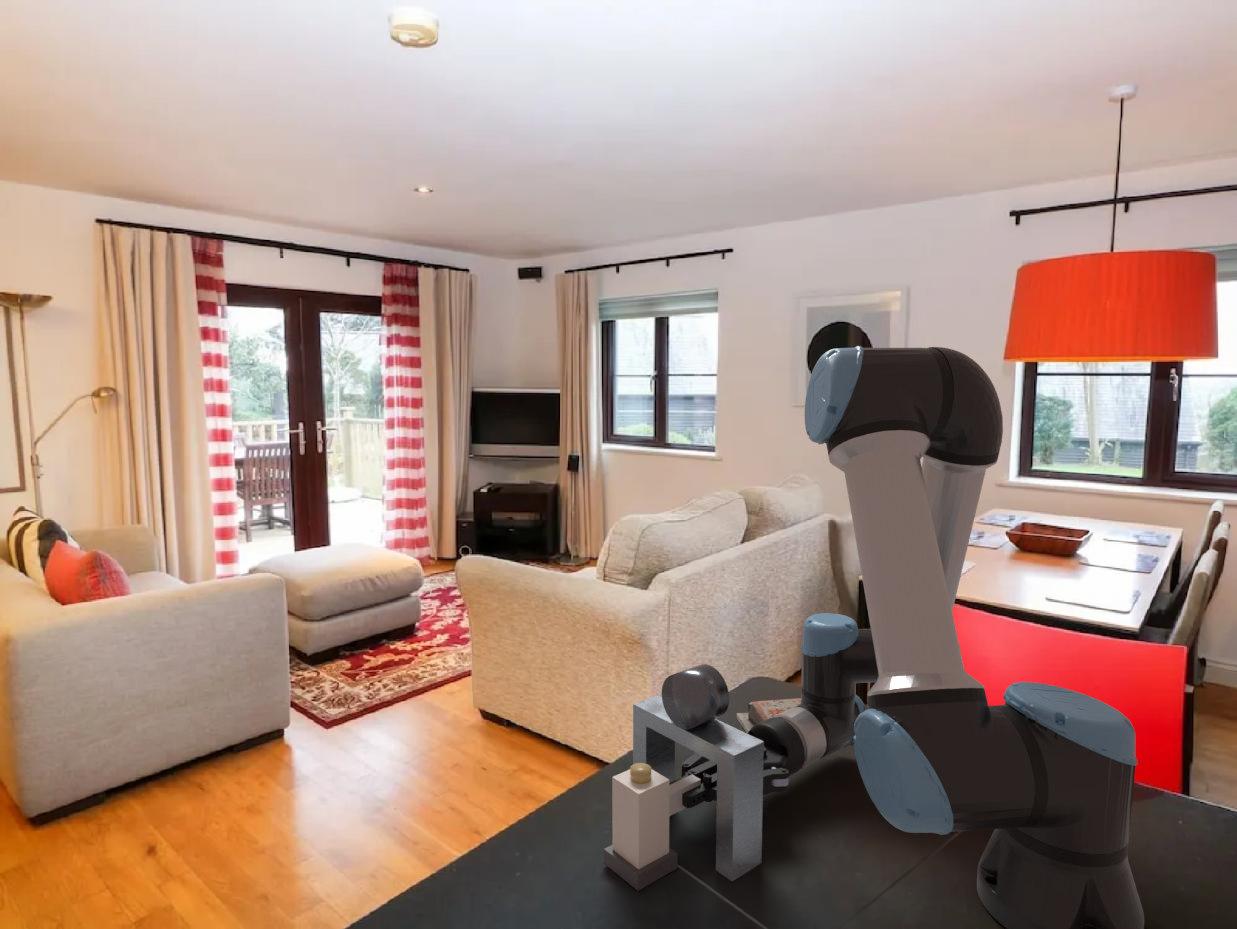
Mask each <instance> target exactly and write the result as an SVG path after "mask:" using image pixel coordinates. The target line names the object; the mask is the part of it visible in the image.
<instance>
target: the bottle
mask: <svg viewBox="0 0 1237 929" xmlns="http://www.w3.org/2000/svg"><path fill="white" fill-rule="evenodd" d="M611 777H612V780H611V784H612V788H611V789H612V791H611V793H612V794H611V795H612V796H611V798H612V804H611V805H612V808H611V810H612V811H611V812H612V816H611V817H612V826H611V827H612V844H611V845H609V846H607V847H605V848H603V864H604V865H605V866H607V868H609V869H610V870H611V871H613V872H614V873H615V874H616V875H618V876H619V877H620V878H621V879H622V880H624V881H625V882H627V883H628V884H629V885H630V886H631V887H633V889H635V890H636V891H640V890H643V889H644V888H645V887H648V886H649V885H651V884H653V883H654V882H656V881H658V880H659V879H660V878H663V877H665V876H666V875H668V874H669V873H671V872H673V871H675V870H677V869H678V860H679V858H678V857H679V856H678V855H679V854H678V853H679V852H677V851H676V850H674V849H672V848H671V847H670V816H669V779H667V778H666V777H664V776H662V775H661V774H659V773H657V772H656V771H654V770H652V769H651V766H650V765H648V764H645V763H636V764H632V765H631V766H630V767H629V768H628V769H627V770H625V771H623V772H621V773H619V774H615V775H613V776H611Z"/></svg>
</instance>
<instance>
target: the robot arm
mask: <svg viewBox="0 0 1237 929" xmlns="http://www.w3.org/2000/svg"><path fill="white" fill-rule="evenodd" d="M1003 420H1004V419H1003V411H1002V408H1001V402H1000V398H999V395H998V392H997V390H996V388H995V385H994V383H993V382H992V379H990V376H989V375H988V374H987V373H986V371H985V370H984V369H983V368H982V366H980V364H979V363H977V362H976V361H975V360H974V359H973V358H971V357H970V356H968V355H966V354H965V353H962V352H961V351H959V350H955V349H952V348H948V347H941V346H928V347H863V346H861V345H856V346H855V347H840V348H837V347H835V348H832V349H829V350H827V351H825V353H823V354H822V355H820V357H819V359H818V360H817V362H816V363H815V365H814V367H813V369H812V371H811V375H810V378H809V381H808V385H807V390H806V395H805V402H804V425H805V426H804V427H805V431H806V435H807V436H808V439H809V440H810V441H811V442H812V443H816V444H817V445H824V444H826V445H825V446H826V449H827V454H828V461H829V463H830V464H831V465H832V466H833V467H835V468H837V469H838V470H839V471H841V472H843V473H844V478H845V484H846V490H847V494H848V496H847V497H848V500H849V507H850V514H851V520H852V526H853V532H854V538H855V542H856V550H857V555H858V561H859V567H860V571H861V572H860V573H861V579H862V584H863V589H864V596H865V602H866V608H867V613H868V614H867V615H868V621H869V625H870V628H859V627H858V624H857V622H856V620H855V619H854V618H852V617H850V616H847V615H845V614H840V613H830V612H820V613H815V614H812V615H810V616H809V617H807V618H806V619H805V620H804V623H803V629H802V641H801V645H800V649H801V690H800V698H801V704H799V705H798V706H796V707H794V708H792V709H789V710H787V711H784V712H782V713H780V714H777V715H775V716H774V717H772V718H769V719H767V720H765V721H763V722H760V723H758V724H756V725H754V726H753V727H752V728H751V729H750V731H749V732H748V734H749V735H751V736H753V737H755V738H757V739H760V740H762V741H764V761H763V796H765V795H768V794H773V793H787V792H788V791H789V780H790V779H789V777H790V776H792V775H794V774H796V773H798V772H799V771H800V770H802V769H805V768H806V767H809V766H810V765H813V764H814V763H815V762H817V761H820V760H822V759H823V758H825V757H826V756H830V755H831V754H833V753H835V752H837V751H839V750H841V749H844V748H846V747H849V746H850V745H851V744H853V748H854V755H855V759H856V763H857V766H858V772H859V774H860V777H861V779H862V783H863V784H864V787H865V789H866V792H867V793H868V796H869V797H870V800H871V801H872V803H873V804H874V805H875V808H876V809H877V810H878V812H879V813H880V815H882V818H884V819H885V820H886V822H888V823H889V824H890V825H891V826H892V827H894V828H896V829H898V830H900V831H902V832H905V833H911V834H912V833H913V834H919V833H920V834H922V833H923V834H926V833H927V834H928V833H929V834H930V833H932V834H937V835H940V836H944V835H949V834H950V833H952V832H953V833H954V832H968V831H984V830H993V832H992V834H991V836H990V839H989V840H988V842H987V844H986V845H985V846H986V847H985V849H984V850H983V852H982V854H981V857H980V859H979V861H978V864H977V875H976V876H977V877H976V891H977V894H978V898H979V900H980V901H981V904H982V905H983V906H984V909H985V910H986V911H988V913H989V914H990V916H992V917H993V918H994V919H995V921H997V922H998V923H999V924H1000V925H1002V926H1003V927H1004V928H1005V929H1145V913H1144V909H1143V906H1142V901H1141V899H1140V896H1139V893H1138V890H1137V885H1136V883H1135V882H1136V881H1135V879H1134V875H1133V873H1132V869H1131V866H1130V863H1129V858H1128V855H1129V841H1130V829H1131V827H1130V826H1131V817H1132V806H1133V796H1134V786H1135V774H1136V766H1137V765H1138V758H1137V757H1136V731H1135V727H1134V726H1133V724H1132V722H1131V720H1130V719H1128V717H1127V716H1125V714H1123V713H1122V712H1121V711H1119V710H1118V709H1116V708H1115V707H1113V706H1111V705H1109V704H1108V703H1106V702H1104V701H1102V700H1100V699H1097V698H1094V697H1092V696H1091V695H1090V696H1089V695H1087V694H1085V693H1081V692H1078V691H1076V690H1072V689H1070V688H1064V687H1061V686H1057V685H1052V684H1048V683H1040V682H1033V681H1018V682H1014V683H1012V684H1010V685H1009V686H1008V687H1006V689H1005V692H1004V693H1003V697H1002V699H1003V700H1004V703H1003V704H1000V705H999V704H998V705H997V704H996V705H989V704H988V699H987V695H986V689H985V686H984V684H982V683H981V682H980V681H978V680H977V679H976V678H974V677H973V676H972V675H970V674H969V673H968V672H967V671H966V669H965V666H964V661H963V658H962V652H961V646H960V642H959V638H958V633H957V628H956V623H955V619H954V615H953V610H954V606H955V602H956V597H957V593H958V588H959V585H960V581H961V577H962V573H963V568H964V565H965V560H966V554H967V551H968V546H969V543H970V540H971V539H970V538H971V534H972V530H973V526H974V523H975V522H974V521H975V518H976V514H977V509H978V505H979V501H980V496H981V492H982V488H983V483H984V480H985V475H986V472H987V469H989V468H991V467H992V466H995V465H996V464H997V463H998V460H999V456H1000V451H1001V446H1002V443H1003V435H1004V427H1003V426H1004V423H1003V422H1004V421H1003ZM921 459H922V462H921ZM861 683H862V684H863V683H865V684H866V683H867V684H868V683H874V684H873V685H872V687H870V689H869V691H868V692H867V694H866V695H867V696H866V697H867V700H868V709H866V708H865V703H864V702H863V700H862V699H861V698H860V696H858V695H857V694H856V687H857V685H856V684H861ZM713 801H715V802H717V764H716V763H715V762H713V761H711V760H709V759H707V758H705V757H703V756H701V755H700V754H698V753H696V752H694V753H693V754H692V755H691V756H689V757H688V758H687V759H686V760H684V761H683V762H682V763H681V777H679V778H677V779H675V781H673V782H670V783H669V817H671V816H673V815H674V814H677V813H679V812H681V811H683V810H685V809H692V808H695V807H696V806H698V805H700V804H702V803H704V802H705V803H711V802H713Z"/></svg>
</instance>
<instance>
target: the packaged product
mask: <svg viewBox="0 0 1237 929" xmlns="http://www.w3.org/2000/svg"><path fill="white" fill-rule="evenodd" d="M799 704H801V697H797V698H795V697H794V698H781V699H768V700H767V699H766V700H758V701H756V700H755V701H751V702H749V703H748V705H747V706H748V707H747V708H748V709H747V710H748V711H747V712H738V713H736V719H737V721H738V723H739V724H740V726H741V727H742V728H743V730H744V732H745V733H747V734H748V732H749V731H750V729H751V728H752V727H753V726H754V725H756V724H758V723H760V722H763V721H765V720H767V719H769V718H772V717H774V716H775V715H777V714H780V713H782V712H784V711H787V710H789V709H792V708H794V707H796V706H798V705H799Z"/></svg>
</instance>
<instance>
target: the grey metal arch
mask: <svg viewBox="0 0 1237 929" xmlns="http://www.w3.org/2000/svg"><path fill="white" fill-rule="evenodd" d="M729 692H730V691H729V689H728V685H727V683H726V681H725V678H724V676H723V675H722V674H721V673H720V672H719V670H717V668H715V667H713V666H712V665H710V664H705V663H703V664H699V665H696V666H693V667H690V668H687V669H685V670H682V671H679V672H676V673H673V674H670V675H668V676H666V678H665V680H664V681H663V683H662V687H661V693H660V694H657V695H654V696H651V697H649V698H646V699H642V700H640V701H638V702H635V703H632V763H633V764H636V763H645V764H648V765H650V766H651V769H652V770H654V771H656V772H657V773H659V774H661V775H662V776H664V777H666V778H667V779H669V783H670V782H673V781H675V780H676V774H675V773H676V772H675V770H676V768H675V767H676V743H677V744H679V745H681V746H683V747H685V748H686V749H688V750H690V751H692V752H693V753H698V754H700V755H701V756H703V757H705V758H707V759H709V760H711V761H713V762H715V763H716V764H717V801H716V818H715V819H716V821H715V822H716V826H715V832H716V833H715V841H716V842H715V871H716V872H718V873H719V874H720V875H722V876H723V877H725V878H726V879H728V880H729V881H731V882H733V881H735V880H737V879H738V878H741V876H743V875H745V874H747V873H748V872H750V871H751V870H753V869H754V868H756V867H757V866H759V865H761V864H762V858H763V857H762V852H763V850H762V849H763V810H764V809H763V808H764V807H763V806H764V805H763V804H764V802H763V801H764V799H763V798H764V795H763V761H764V741H762V740H760V739H757V738H755V737H753V736H751V735H749V734H747V733H746V732H745V731H742V730H740V729H738V728H737V727H734V726H732V725H729V724H728V723H725V722H723V721H721V720H720V719H719V720H718V719H717V718H720V717H722V716H724V715H725V713H727V711H728V708H729V705H730V693H729ZM633 764H632V765H633Z"/></svg>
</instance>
